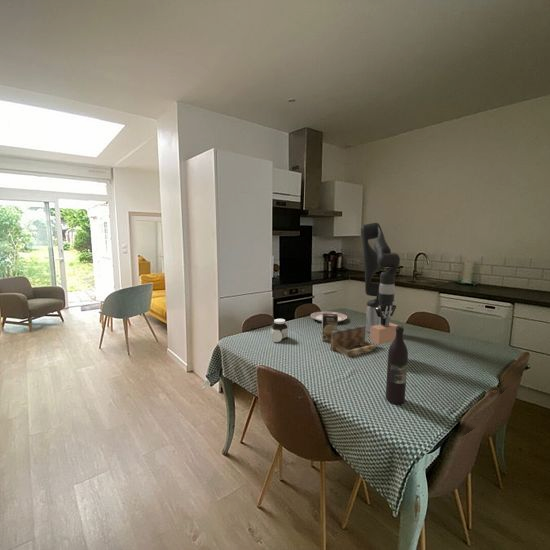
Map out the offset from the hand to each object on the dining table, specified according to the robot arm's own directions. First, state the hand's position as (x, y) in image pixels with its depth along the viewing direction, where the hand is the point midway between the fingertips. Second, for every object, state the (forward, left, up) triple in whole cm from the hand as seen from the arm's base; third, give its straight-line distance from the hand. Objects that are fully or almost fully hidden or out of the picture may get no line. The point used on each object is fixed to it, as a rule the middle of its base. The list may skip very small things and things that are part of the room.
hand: (384, 324), depth 154 cm
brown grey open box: (+6, -15, -18) cm, 25 cm away
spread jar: (+36, -49, -19) cm, 64 cm away
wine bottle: (+27, +31, -19) cm, 45 cm away
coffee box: (+9, -34, -19) cm, 40 cm away
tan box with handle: (0, 0, -9) cm, 9 cm away
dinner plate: (-18, -69, -19) cm, 74 cm away
